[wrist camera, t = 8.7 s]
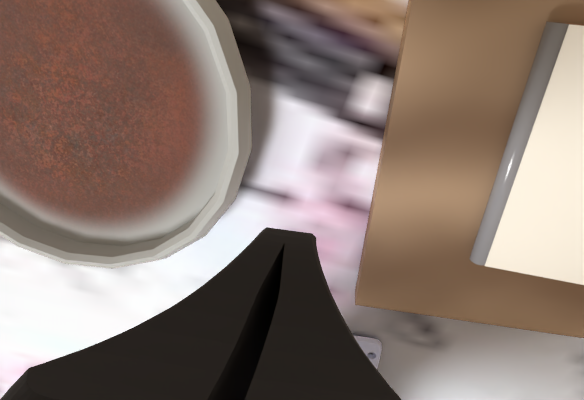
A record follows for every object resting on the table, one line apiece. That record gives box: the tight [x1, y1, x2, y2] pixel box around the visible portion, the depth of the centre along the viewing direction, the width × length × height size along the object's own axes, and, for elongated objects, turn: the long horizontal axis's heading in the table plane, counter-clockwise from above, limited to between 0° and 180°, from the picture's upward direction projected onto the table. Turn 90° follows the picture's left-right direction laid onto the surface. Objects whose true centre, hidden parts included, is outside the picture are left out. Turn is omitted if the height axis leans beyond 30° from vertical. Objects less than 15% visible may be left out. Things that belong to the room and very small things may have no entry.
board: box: [355, 0, 584, 338], centre depth 18 cm, size 18×16×1 cm
